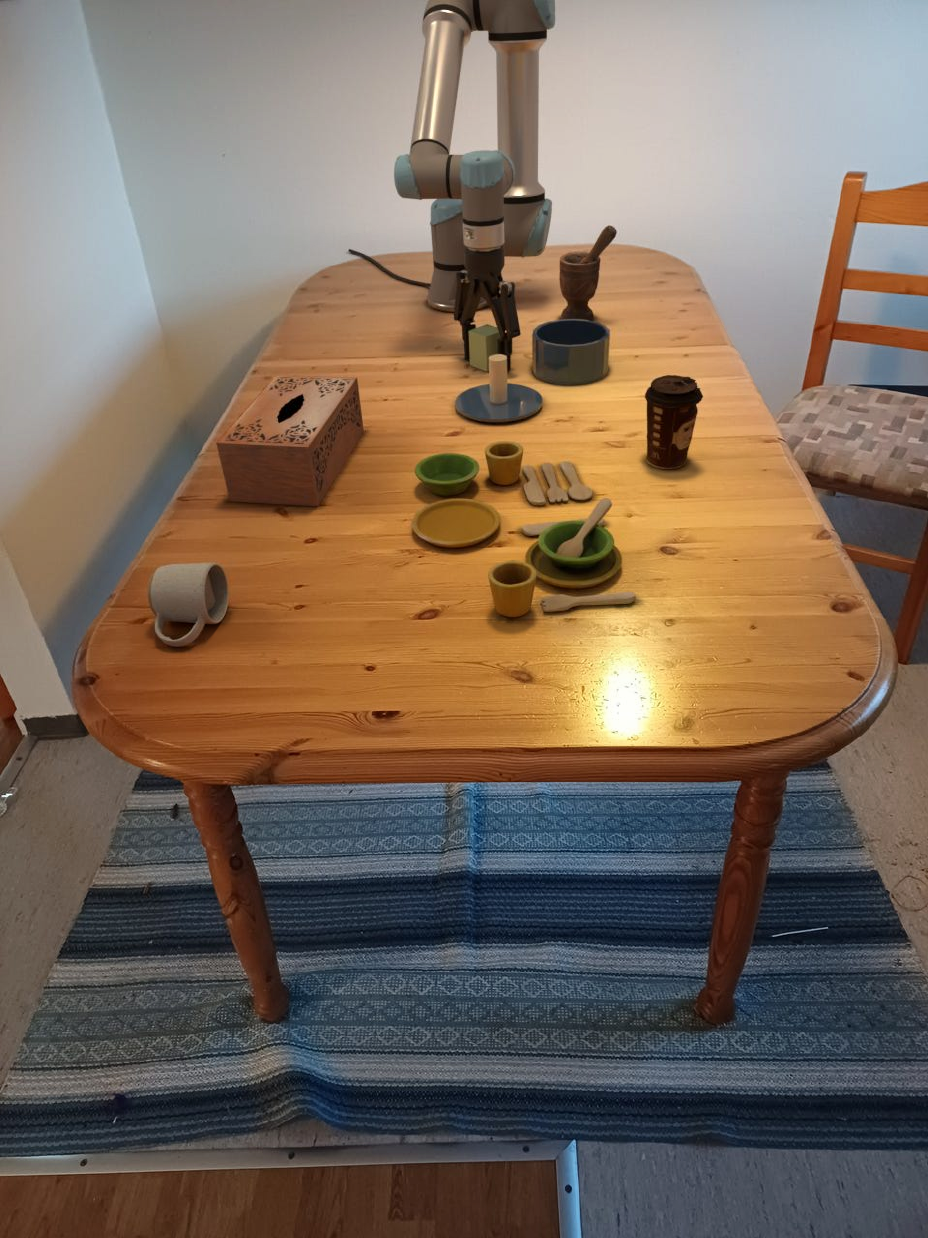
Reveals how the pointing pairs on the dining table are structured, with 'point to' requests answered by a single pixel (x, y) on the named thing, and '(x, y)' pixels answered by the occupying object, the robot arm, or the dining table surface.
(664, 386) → the coffee cup
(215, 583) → the ceramic mug
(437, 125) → the robot arm
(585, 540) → the tableware set
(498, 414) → the bowl lid
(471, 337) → the block
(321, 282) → the dining table surface
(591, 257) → the mortar and pestle
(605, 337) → the bowl
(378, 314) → the dining table surface
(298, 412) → the tissue box cover
